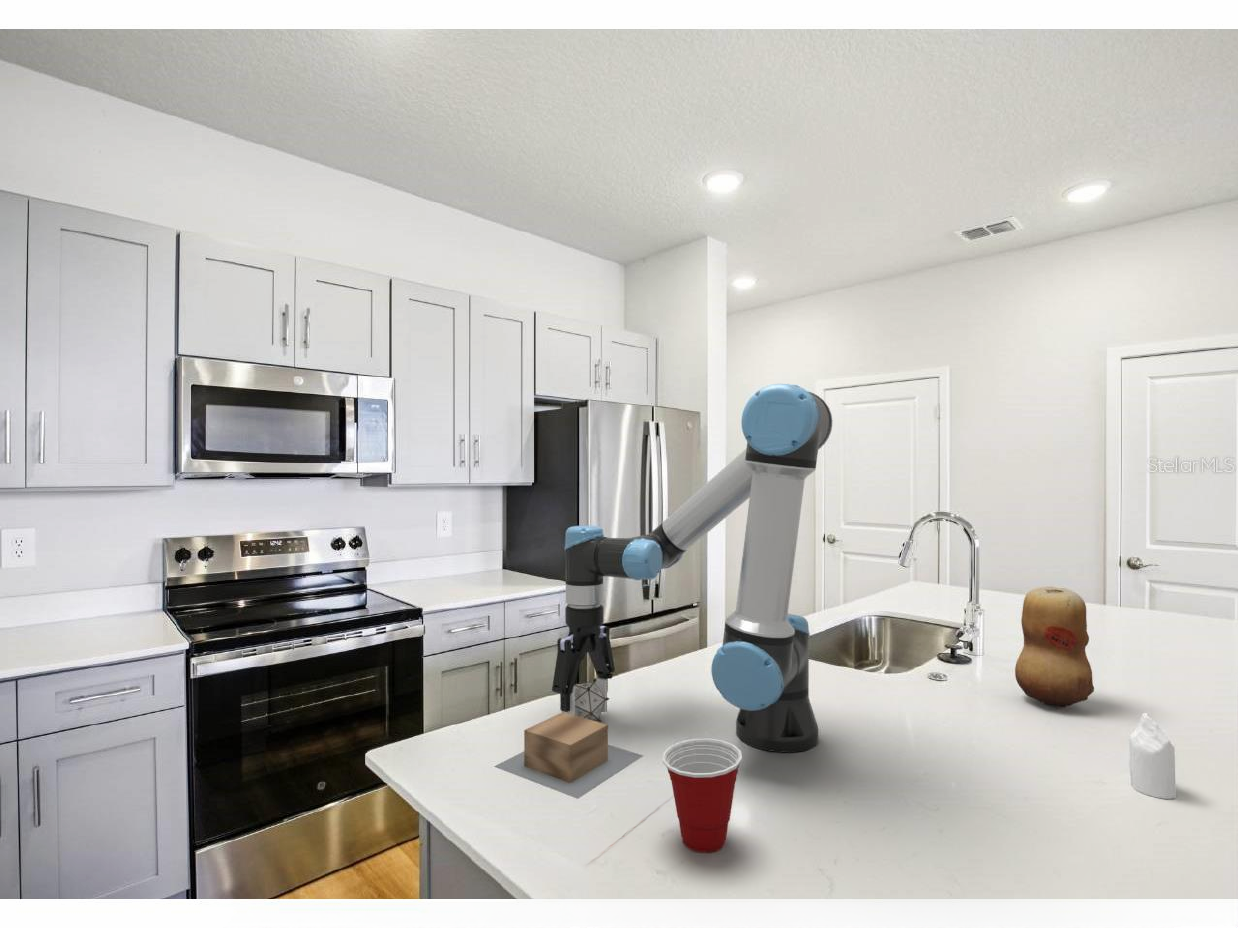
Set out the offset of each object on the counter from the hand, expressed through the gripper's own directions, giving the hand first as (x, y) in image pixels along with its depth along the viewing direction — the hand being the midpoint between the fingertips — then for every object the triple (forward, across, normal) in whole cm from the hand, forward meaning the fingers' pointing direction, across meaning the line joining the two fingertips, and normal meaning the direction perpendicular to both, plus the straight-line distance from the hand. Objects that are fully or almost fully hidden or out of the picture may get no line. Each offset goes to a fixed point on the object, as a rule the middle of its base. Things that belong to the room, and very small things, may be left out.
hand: (585, 718), depth 128 cm
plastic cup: (+2, +22, +38) cm, 44 cm away
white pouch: (+2, -32, +89) cm, 94 cm away
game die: (+1, 0, 0) cm, 1 cm away
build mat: (+1, +15, +9) cm, 17 cm away
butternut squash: (+2, -67, +75) cm, 100 cm away
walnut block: (+1, +16, +9) cm, 18 cm away
